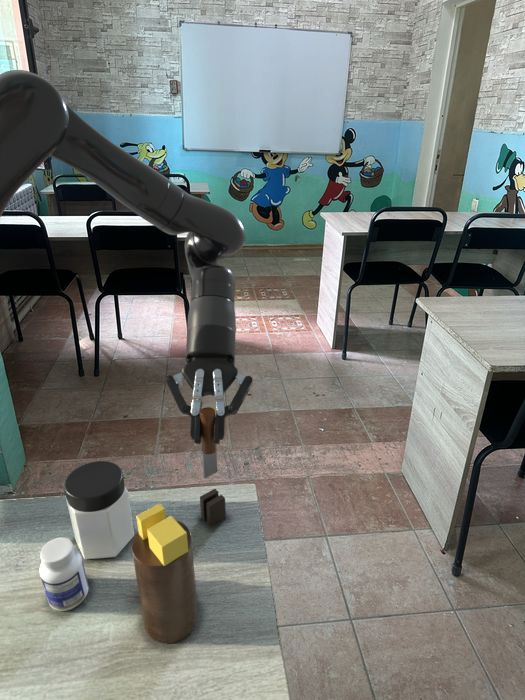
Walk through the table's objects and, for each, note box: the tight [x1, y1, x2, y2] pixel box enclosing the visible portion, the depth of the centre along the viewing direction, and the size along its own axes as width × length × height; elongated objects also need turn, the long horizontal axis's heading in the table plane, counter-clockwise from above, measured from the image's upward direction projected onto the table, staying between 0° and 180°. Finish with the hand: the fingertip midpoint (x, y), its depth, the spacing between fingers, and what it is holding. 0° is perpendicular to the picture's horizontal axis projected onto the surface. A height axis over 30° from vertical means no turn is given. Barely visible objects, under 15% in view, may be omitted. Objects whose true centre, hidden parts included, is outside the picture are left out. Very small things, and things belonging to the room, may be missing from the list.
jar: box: [63, 460, 135, 560], centre depth 72 cm, size 9×8×12 cm
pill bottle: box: [38, 536, 89, 612], centre depth 64 cm, size 5×5×9 cm
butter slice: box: [135, 503, 167, 540], centre depth 58 cm, size 1×3×3 cm, turn 131°
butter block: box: [147, 515, 188, 566], centre depth 55 cm, size 3×3×3 cm
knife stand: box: [199, 488, 227, 528], centre depth 78 cm, size 3×3×4 cm
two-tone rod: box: [200, 406, 218, 479], centre depth 72 cm, size 2×2×12 cm
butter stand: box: [131, 519, 199, 644], centre depth 60 cm, size 7×7×14 cm
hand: (207, 442), depth 69 cm, fingers closed on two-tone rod, 2 cm apart
